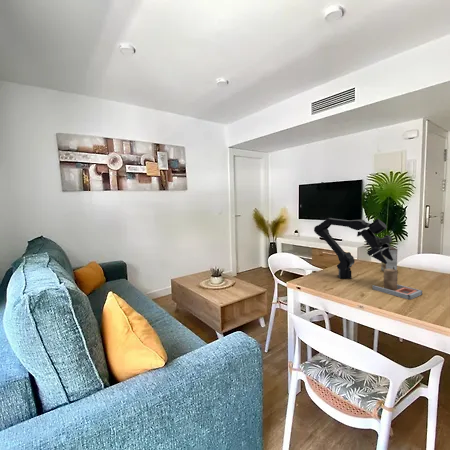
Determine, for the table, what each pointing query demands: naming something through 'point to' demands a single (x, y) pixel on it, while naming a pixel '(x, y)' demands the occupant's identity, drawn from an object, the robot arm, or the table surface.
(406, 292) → the rectangular frame
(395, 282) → the walnut block
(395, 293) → the u-shaped frame
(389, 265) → the coffee box
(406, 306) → the table surface
